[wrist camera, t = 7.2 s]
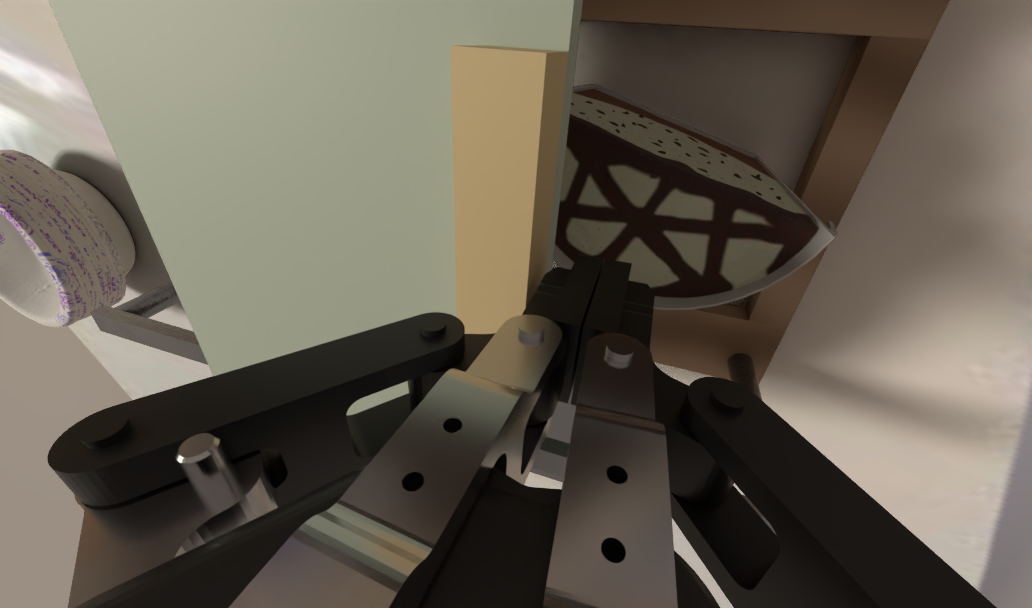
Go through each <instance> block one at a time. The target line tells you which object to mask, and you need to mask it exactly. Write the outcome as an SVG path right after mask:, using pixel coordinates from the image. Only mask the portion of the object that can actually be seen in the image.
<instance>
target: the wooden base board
mask: <svg viewBox="0 0 1032 608" xmlns="http://www.w3.org/2000/svg"><path fill="white" fill-rule="evenodd" d="M948 2H949V0H583V4H582V12H581V20H587V21H605V22H622V23H639V24H656V25H674V26H691V27H708V28H726V29H743V30H760V31H777V32H795V33H812V34H829V35H846V36H859V37H858V39H857V42H856V44H855V47H854V49H853V51H852V54H851V56H850V58H849V61H848V63H847V66H846V68H845V70H844V73H843V75H842V78H841V80H840V82H839V85H838V87H837V90H836V92H835V94H834V97H833V99H832V102H831V104H830V106H829V109H828V111H827V114H826V116H825V118H824V121H823V123H822V125H821V128H820V130H819V133H818V135H817V137H816V140H815V142H814V145H813V147H812V149H811V152H810V154H809V157H808V159H807V161H806V164H805V166H804V169H803V171H802V173H801V176H800V178H799V180H798V183H797V185H796V188H795V190H794V193H795V194H796V195H797V196H798V197H799V199H800V200H801V201H802V202H803V203H804V204H805V205H806V206H807V207H808V208H809V209H810V210H811V211H812V212H813V213H814V214H815V215H816V216H817V217H818V218H819V219H820V220H821V221H822V222H823V223H824V224H825V223H826V222H827V221H828V220H829V221H831V222H833V224H834V227H835V229H836V228H837V226H838V224H839V222H840V220H841V218H842V216H843V214H844V212H845V210H846V208H847V206H848V204H849V202H850V200H851V198H852V196H853V194H854V192H855V190H856V188H857V186H858V184H859V181H860V179H861V177H862V175H863V173H864V171H865V169H866V167H867V165H868V163H869V161H870V159H871V157H872V155H873V153H874V151H875V149H876V147H877V145H878V143H879V141H880V139H881V137H882V135H883V133H884V131H885V129H886V127H887V125H888V123H889V121H890V119H891V117H892V115H893V113H894V111H895V109H896V107H897V105H898V103H899V101H900V99H901V97H902V95H903V93H904V91H905V89H906V87H907V85H908V83H909V81H910V79H911V77H912V75H913V73H914V71H915V69H916V67H917V65H918V63H919V61H920V59H921V57H922V55H923V53H924V51H925V49H926V47H927V45H928V43H929V41H930V39H931V37H932V35H933V33H934V30H935V28H936V26H937V24H938V22H939V20H940V18H941V16H942V14H943V12H944V10H945V8H946V6H947V4H948ZM827 246H828V245H827ZM827 246H826V247H825V248H824V249H823V250H822V251H821V252H820V253H819V254H818V255H817V256H816V257H814V258H813V259H812V260H810V261H809V262H808V263H806V264H805V265H804V266H802V267H801V268H800V269H798V270H797V271H796V272H794V273H793V274H792V275H790V276H788V277H786V278H785V279H783V280H781V281H779V282H777V283H776V284H774V285H772V286H770V287H769V288H767V289H765V290H762V291H760V292H757V293H755V294H752V295H750V298H749V300H748V302H747V305H746V307H745V308H744V307H739V306H734V305H729V304H721V305H718V306H713V307H706V308H699V309H692V310H661V309H653V320H652V330H651V341H650V352H651V354H652V358H653V362H657V363H661V364H665V365H669V366H673V367H678V368H682V369H686V370H690V371H694V372H698V373H703V374H707V375H711V376H715V377H719V378H723V379H728V380H730V376H729V370H728V359H729V357H730V356H732V355H734V354H737V353H743V354H747V355H749V356H750V357H751V358H752V360H753V364H754V368H755V372H756V376H757V381H758V385H759V383H760V381H761V379H762V377H763V375H764V373H765V371H766V369H767V367H768V365H769V363H770V361H771V359H772V357H773V355H774V353H775V351H776V349H777V347H778V345H779V343H780V341H781V339H782V337H783V335H784V332H785V330H786V328H787V326H788V324H789V322H790V320H791V318H792V316H793V314H794V312H795V310H796V308H797V306H798V304H799V302H800V300H801V298H802V296H803V294H804V292H805V290H806V288H807V286H808V284H809V282H810V280H811V278H812V276H813V274H814V272H815V270H816V268H817V266H818V264H819V262H820V260H821V258H822V256H823V254H824V252H825V250H826V248H827ZM552 270H553V269H552Z"/></svg>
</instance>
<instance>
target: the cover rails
mask: <svg viewBox="0 0 1032 608" xmlns="http://www.w3.org/2000/svg"><path fill="white" fill-rule="evenodd" d="M178 302H180V299H179V297H178V295H177V292H176V290H175V288H174V285H173V283H172V281H171V282H169V283H167V284H165V285H162V286H160V287H158V288H156V289H154V290H152V291H150V292H148V293H145V294H143V295H141V296H139V297H137V298H135V299H133V300H130V301H128V302H126V303H124V304H122V305H120V306H118V307H116V308H112V307H108V306H105V305H104V306H102V307H99V308H97V309H95V310H93V311H91V312H90V313H91V315H92V317H93V318H94V320H95V322H96V324H97V325H98V327H99V329H100V330H101V331H103V332H106V333H110V334H113V335H116V336H119V337H122V338H125V339H128V340H132V341H135V342H138V343H141V344H144V345H147V346H150V347H154V348H157V349H160V350H163V351H166V352H169V353H173V354H176V355H179V356H182V357H185V358H188V359H191V360H195V361H198V362H201V363H204V364H207V365H208V363H207V360H206V358H205V356H204V354H203V351H202V349H201V347H200V345H199V342H198V340H197V338H196V335H195V333H194V332H192V331H189V330H186V329H182V328H179V327H176V326H172V325H169V324H166V323H162V322H159V321H155V320H152V319H149V317H151V316H153V315H155V314H156V313H158V312H160V311H162V310H164V309H166V308H168V307H170V306H172V305H174V304H176V303H178ZM728 370H729V376H730V381H733V382H735V383H738V384H740V385H742V386H744V387H745V388H747V389H748V390H750V391H751V392H752V393H754V394H755V395H756V396H757V397H758V398H760V399H761V400H762V398H761V393H760V389H759V385H758V381H757V376H756V372H755V368H754V364H753V360H752V358H751V357H750V356H749V355H747V354H743V353H737V354H734V355H732V356H730V357H729V359H728ZM568 449H569V443H566V442H563V441H559V440H556V439H553V438H549V437H546V436H545V439H544V441H543V443H542V445H541V448H540V450H539V452H538V454H537V457H536V459H535V461H534V463H533V465H532V468H535V469H538V470H541V471H544V472H548V473H551V474H554V475H557V476H560V477H563V478H564V473H565V467H566V461H567V455H568ZM742 496H743V497H744V498H745V500H746V501H747V502H748V503H749V504H750V505H751V507H752V508H753V509H754V510H755V511H756V512H757V513H758V515H759V516H760V517H761V518H762V519H763V520H764V522H765V523H766V524H767V525H768V526H769V527H770V528H771V530H772V531H773V532H774V533H775V531H774V529H773V528H772V526H771V525H770V523H769V522H768V521H767V520H766V518H765V517H764V516H763V515H762V514H761V513H760V512H759V510H758V509H757V508H756V507H755V506H754V505H753V504H752V502H751V501H750V500H749V499H748V498H747V497H746V496H744V495H742ZM775 534H776V533H775Z"/></svg>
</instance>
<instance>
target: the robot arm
mask: <svg viewBox="0 0 1032 608" xmlns="http://www.w3.org/2000/svg"><path fill="white" fill-rule="evenodd" d="M603 265H604V266H603ZM631 266H632V263H627V262H621V261H616V260H610V259H606V260H605V263H604V258H599V257H593V256H588V255H582V254H578V256H577V258H576V260H575V262H574V264H573V267H572V269H566V268H560V267H556V268H554V269H553V270H551V271H549V272H547V273H546V274H545V275H544V277H543V279H542V281H541V282H540V285H539V286H538V288H537V289H536V292H535V293H534V295H533V296H532V298H531V300H530V301H529V303H528V305H527V307H526V308H525V310H524V312H523V314H522V315H519V316H515V317H512V318H510V319H508V320H507V321H505V322H504V323H503V324H502V326H501V327H500V328H499V330H498V331H497V332H496V333H493V334H465V327H464V324H463V323H462V321H461V320H460V319H459V318H457V317H455V316H453V315H451V314H447V313H441V312H431V313H424V314H420V315H417V316H414V317H410V318H407V319H404V320H400V321H397V322H394V323H390V324H387V325H383V326H380V327H377V328H373V329H370V330H367V331H363V332H360V333H357V334H353V335H350V336H347V337H343V338H340V339H337V340H333V341H330V342H327V343H323V344H320V345H317V346H313V347H310V348H306V349H303V350H300V351H296V352H293V353H290V354H286V355H283V356H280V357H276V358H273V359H270V360H266V361H263V362H260V363H256V364H253V365H250V366H246V367H243V368H240V369H236V370H233V371H229V372H226V373H223V374H219V375H216V376H213V377H209V378H206V379H203V380H199V381H196V382H193V383H189V384H186V385H183V386H179V387H176V388H173V389H169V390H166V391H163V392H159V393H156V394H152V395H149V396H146V397H142V398H139V399H136V400H132V401H129V402H126V403H122V404H119V405H116V406H112V407H110V408H107V409H104V410H101V411H99V412H96V413H94V414H92V415H90V416H88V417H86V418H85V419H83V420H81V421H79V422H78V423H76V424H75V425H73V426H72V427H71V428H69V429H68V430H67V431H65V432H64V433H63V434H62V435H61V436H60V437H59V438H58V439H57V440H56V441H55V443H54V444H53V446H52V447H51V449H50V451H49V454H48V463H49V465H50V466H51V468H52V469H53V470H54V471H55V472H56V474H57V475H58V476H59V477H60V478H61V479H62V480H63V482H64V483H65V484H66V485H67V486H68V487H69V489H71V491H72V492H73V493H74V494H75V499H76V501H77V503H78V504H79V505H80V506H81V507H82V508H83V510H84V518H83V525H82V530H81V535H80V541H79V547H78V552H77V558H76V564H75V569H74V576H73V581H72V587H71V592H70V598H69V604H68V608H720V607H719V605H718V603H717V602H716V600H715V599H714V597H713V596H712V594H711V593H710V591H709V590H708V588H707V587H706V585H705V584H704V583H703V581H702V580H701V579H700V578H699V576H698V575H697V574H696V572H695V571H694V570H693V569H692V568H691V567H690V566H689V565H688V564H687V562H686V561H685V560H684V559H683V558H682V557H681V556H680V555H678V554H677V553H676V552H675V551H674V546H673V531H672V518H673V520H674V521H675V523H676V524H677V525H678V527H679V528H680V530H681V531H682V533H683V534H684V536H685V537H686V539H687V540H688V541H689V543H690V544H691V546H692V547H693V549H694V550H695V552H696V553H697V555H698V556H699V558H700V559H701V560H702V562H703V563H704V565H705V566H706V568H707V569H708V571H709V572H710V574H711V575H712V576H713V578H714V579H715V581H716V582H717V584H718V585H719V587H720V588H721V590H722V591H723V593H724V594H725V595H726V597H727V598H728V600H729V601H730V603H731V604H732V606H733V607H734V608H996V607H995V606H994V605H993V604H992V603H991V602H990V601H989V600H987V599H986V598H985V597H984V596H983V595H982V594H981V593H979V592H978V591H977V590H976V589H975V588H974V587H973V586H972V585H970V584H969V583H968V582H967V581H966V580H965V579H964V578H962V577H961V576H960V575H959V574H958V573H957V572H956V571H955V570H953V569H952V568H951V567H950V566H949V565H948V564H947V563H945V562H944V561H943V560H942V559H941V558H940V557H939V556H938V555H936V554H935V553H934V552H933V551H932V550H931V549H930V548H928V547H927V546H926V545H925V544H924V543H923V542H922V541H921V540H919V539H918V538H917V537H916V536H915V535H914V534H913V533H911V532H910V531H909V530H908V529H907V528H906V527H905V526H904V525H902V524H901V523H900V522H899V521H898V520H897V519H896V518H894V517H893V516H892V515H891V514H890V513H889V512H888V511H886V510H885V509H884V508H883V507H882V506H881V505H880V504H879V503H877V502H876V501H875V500H874V499H873V498H872V497H871V496H869V495H868V494H867V493H866V492H865V491H864V490H863V489H862V488H860V487H859V486H858V485H857V484H856V483H855V482H854V481H852V480H851V479H850V478H849V477H848V476H847V475H846V474H845V473H843V472H842V471H841V470H840V469H839V468H838V467H837V466H835V465H834V464H833V463H832V462H831V461H830V460H829V459H828V458H826V457H825V456H824V455H823V454H822V453H821V452H820V451H818V450H817V449H816V448H815V447H814V446H813V445H812V444H811V443H809V442H808V441H807V440H806V439H805V438H804V437H803V436H801V435H800V434H799V433H798V432H797V431H796V430H795V429H794V428H792V427H791V426H790V425H789V424H788V423H787V422H786V421H784V420H783V419H782V418H781V417H780V416H779V415H778V414H777V413H775V412H774V411H773V410H772V409H771V408H770V407H769V406H767V405H766V404H765V403H764V402H763V401H762V400H761V399H760V398H758V397H757V396H756V395H755V394H754V393H752V392H751V391H750V390H748V389H747V388H745V387H744V386H742V385H740V384H738V383H735V382H733V381H730V380H727V379H723V378H717V377H704V378H700V379H697V380H695V381H694V382H692V383H691V384H690V386H688V385H686V384H684V383H682V382H679V381H677V380H675V379H673V378H671V377H670V376H668V375H667V374H665V373H664V372H662V371H661V370H660V369H659V368H658V367H657V366H656V365H655V363H654V362H653V358H652V354H651V352H650V341H651V330H652V320H653V309H654V308H653V307H654V298H655V294H654V293H653V291H652V290H651V288H650V287H649V285H648V284H645V283H640V282H634V281H629V275H630V271H631ZM406 381H407V382H408V390H409V393H408V394H405V395H402V396H400V397H397V398H395V399H392V400H390V401H387V402H384V403H382V404H379V405H377V406H374V407H372V408H369V409H367V410H364V411H361V412H359V413H356V414H353V415H346V414H347V411H348V409H349V408H350V406H351V405H352V404H353V403H354V402H356V401H357V400H359V399H361V398H363V397H366V396H369V395H371V394H374V393H377V392H379V391H382V390H385V389H387V388H390V387H393V386H395V385H398V384H401V383H403V382H406ZM573 385H574V386H573ZM572 389H573V393H572V399H571V404H572V405H576V409H575V415H574V420H573V426H572V432H571V438H570V443H569V449H568V455H567V461H566V467H565V473H564V479H563V484H562V490H561V489H548V488H535V487H528V486H525V485H524V483H525V481H526V479H527V477H528V474H529V472H530V470H531V468H532V465H533V463H534V461H535V459H536V457H537V454H538V452H539V450H540V448H541V445H542V443H543V441H544V439H545V436H546V434H547V432H548V430H549V427H550V424H551V417H552V415H553V414H554V412H555V409H556V406H557V403H558V401H560V402H564V403H568V402H569V398H570V395H571V392H572ZM734 483H735V484H736V485H737V486H738V488H739V489H740V490H741V491H742V492H743V493H744V494H745V496H746V497H747V498H748V499H749V500H750V501H751V502H752V504H753V505H754V506H755V507H756V508H757V509H758V510H759V512H760V513H761V514H762V515H763V516H764V517H765V518H766V520H767V521H768V522H769V523H770V525H771V526H772V528H773V529H774V531H775V533H776V534H775V533H774V532H773V531H772V530H771V528H770V527H769V526H768V525H767V524H766V523H765V522H764V520H763V519H762V518H761V517H760V516H759V515H758V513H757V512H756V511H755V510H754V509H753V508H752V507H751V505H750V504H749V503H748V502H747V501H746V500H745V498H744V497H743V496H742V495H741V494H740V493H739V491H738V490H737V489H736V488H735V487H734V486H733V484H734Z"/></svg>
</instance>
